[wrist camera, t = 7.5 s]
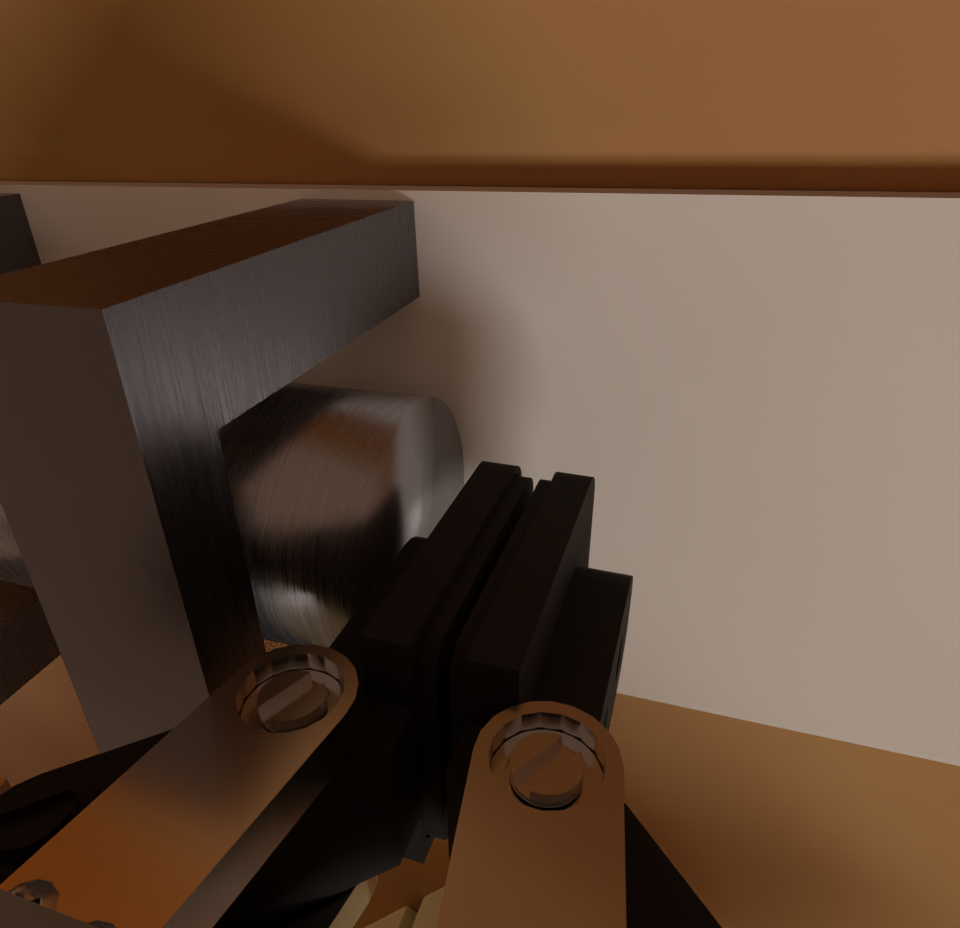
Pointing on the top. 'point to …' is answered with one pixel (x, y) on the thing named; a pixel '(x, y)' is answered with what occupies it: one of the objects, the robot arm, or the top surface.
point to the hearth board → (687, 414)
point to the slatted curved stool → (414, 914)
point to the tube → (325, 499)
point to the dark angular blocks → (4, 605)
